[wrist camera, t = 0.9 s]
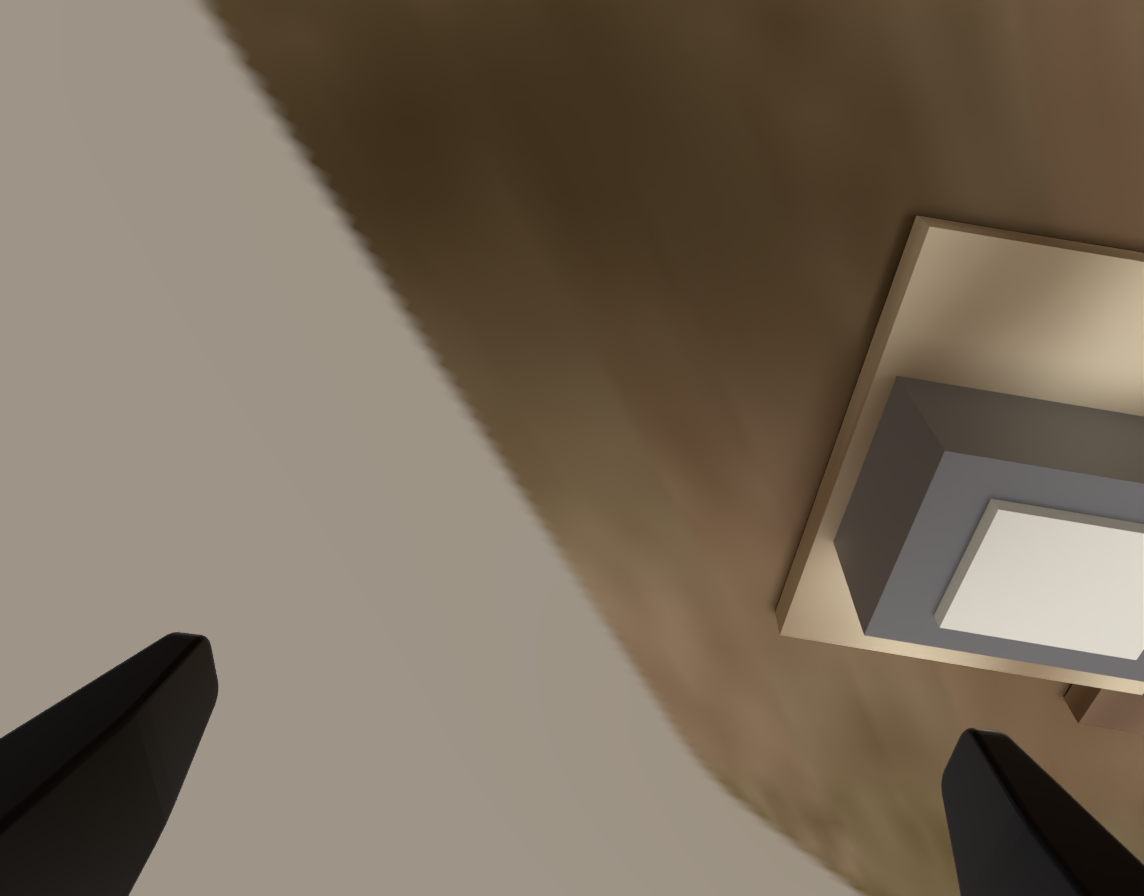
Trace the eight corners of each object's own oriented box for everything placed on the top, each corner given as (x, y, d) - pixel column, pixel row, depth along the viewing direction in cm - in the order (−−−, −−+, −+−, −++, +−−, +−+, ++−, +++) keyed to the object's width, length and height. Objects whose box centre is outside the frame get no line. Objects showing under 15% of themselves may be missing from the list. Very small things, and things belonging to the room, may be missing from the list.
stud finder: (1187, 423, 19) (1305, 519, 16) (1090, 585, 22) (1173, 698, 18) (896, 375, 19) (951, 460, 16) (833, 542, 22) (867, 647, 18)
